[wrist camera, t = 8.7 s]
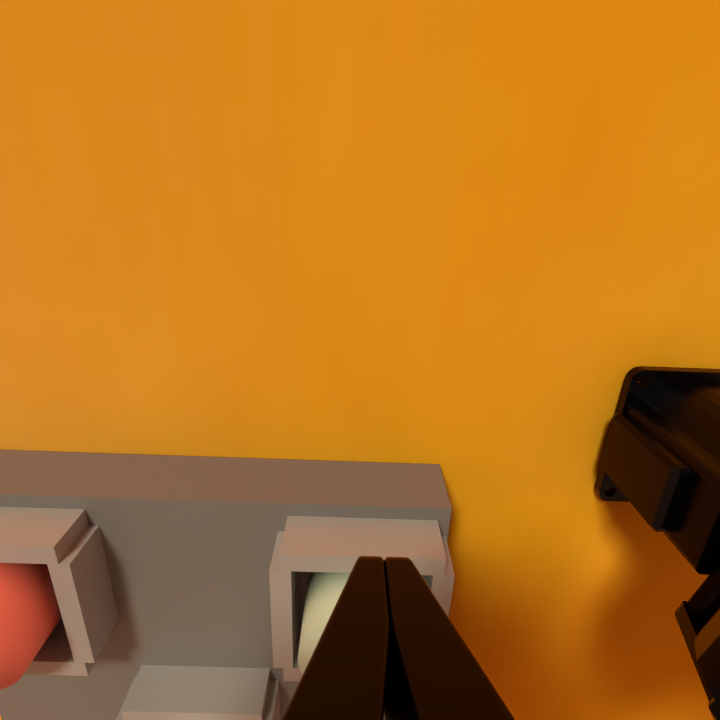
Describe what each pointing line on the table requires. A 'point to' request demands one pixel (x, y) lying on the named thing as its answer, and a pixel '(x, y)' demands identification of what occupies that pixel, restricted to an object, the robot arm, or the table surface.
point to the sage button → (318, 610)
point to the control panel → (197, 572)
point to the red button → (24, 616)
